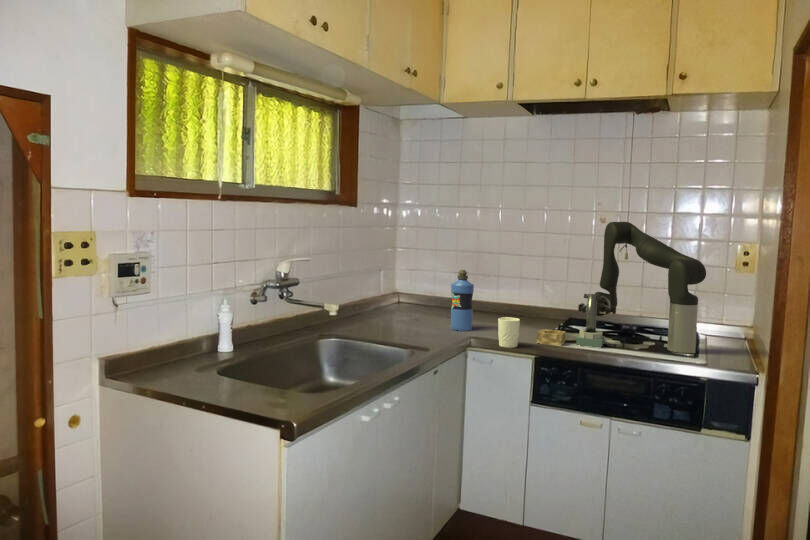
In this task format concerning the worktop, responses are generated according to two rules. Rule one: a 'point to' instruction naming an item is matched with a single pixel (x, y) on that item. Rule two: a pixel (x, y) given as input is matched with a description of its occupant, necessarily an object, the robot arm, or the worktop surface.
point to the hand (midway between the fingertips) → (595, 310)
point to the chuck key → (591, 312)
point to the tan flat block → (551, 337)
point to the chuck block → (592, 339)
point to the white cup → (508, 331)
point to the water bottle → (462, 303)
